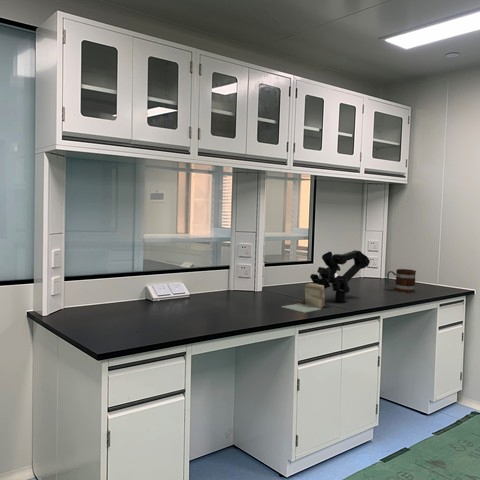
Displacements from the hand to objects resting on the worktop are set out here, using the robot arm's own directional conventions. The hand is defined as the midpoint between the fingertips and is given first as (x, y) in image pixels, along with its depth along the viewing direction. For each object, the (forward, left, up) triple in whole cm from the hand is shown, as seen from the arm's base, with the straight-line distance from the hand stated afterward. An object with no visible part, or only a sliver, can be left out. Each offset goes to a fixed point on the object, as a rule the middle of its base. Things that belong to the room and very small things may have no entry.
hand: (317, 291), depth 271 cm
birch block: (+2, 0, -8) cm, 8 cm away
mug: (-92, 0, -8) cm, 93 cm away
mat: (+14, 0, -8) cm, 16 cm away
